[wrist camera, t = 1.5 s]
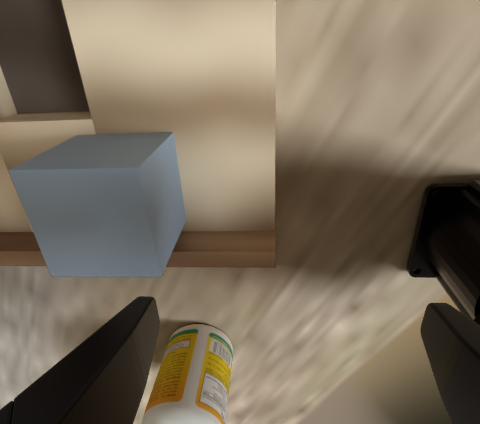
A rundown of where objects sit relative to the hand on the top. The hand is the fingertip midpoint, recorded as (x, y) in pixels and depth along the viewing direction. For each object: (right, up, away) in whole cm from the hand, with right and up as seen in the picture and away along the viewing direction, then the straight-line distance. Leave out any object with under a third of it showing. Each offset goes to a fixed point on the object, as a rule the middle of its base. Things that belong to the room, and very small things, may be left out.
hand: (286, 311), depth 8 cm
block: (-7, +4, +9) cm, 12 cm away
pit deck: (-9, +8, +10) cm, 16 cm away
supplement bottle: (-4, -8, +19) cm, 21 cm away
